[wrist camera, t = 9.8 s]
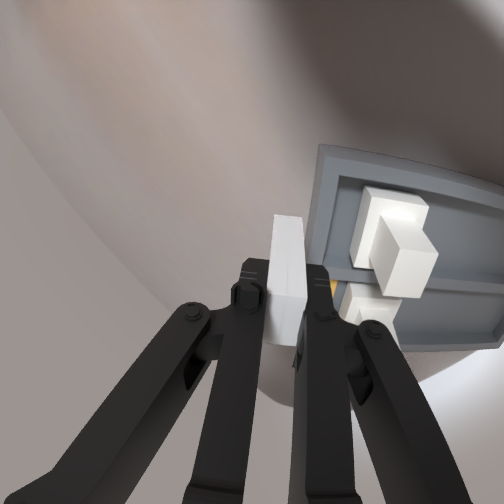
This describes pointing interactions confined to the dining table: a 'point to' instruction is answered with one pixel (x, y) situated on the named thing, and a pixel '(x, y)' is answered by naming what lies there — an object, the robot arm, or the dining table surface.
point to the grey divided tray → (438, 232)
